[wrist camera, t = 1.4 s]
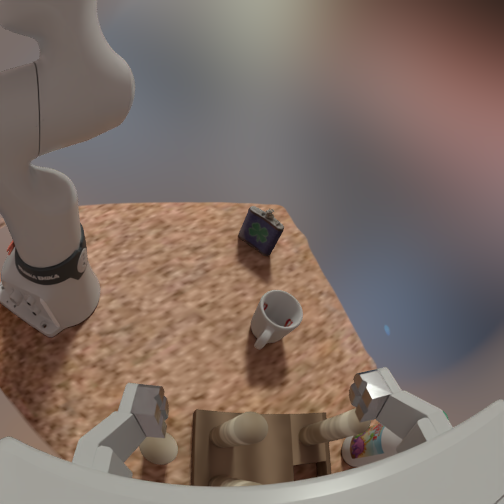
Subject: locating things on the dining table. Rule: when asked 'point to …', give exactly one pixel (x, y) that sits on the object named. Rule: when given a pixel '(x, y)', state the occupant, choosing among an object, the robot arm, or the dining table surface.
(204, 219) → the dining table surface
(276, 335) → the cup
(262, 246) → the flask
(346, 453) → the milk bottle
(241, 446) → the stool
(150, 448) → the loose leg
